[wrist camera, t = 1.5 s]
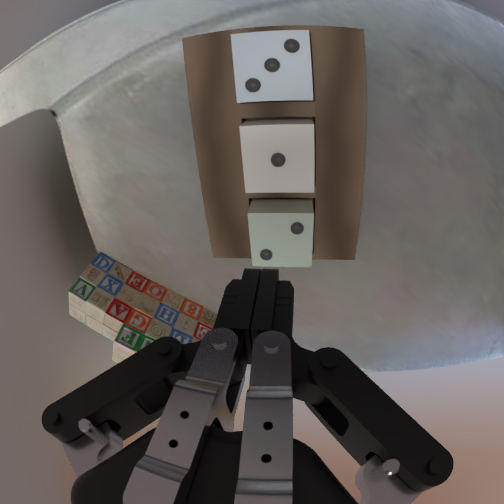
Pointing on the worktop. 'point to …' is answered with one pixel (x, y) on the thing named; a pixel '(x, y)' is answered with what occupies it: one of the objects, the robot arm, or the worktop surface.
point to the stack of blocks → (134, 308)
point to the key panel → (319, 110)
